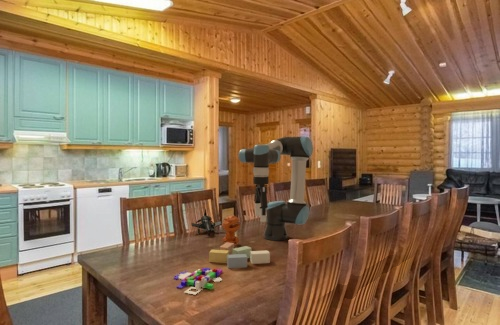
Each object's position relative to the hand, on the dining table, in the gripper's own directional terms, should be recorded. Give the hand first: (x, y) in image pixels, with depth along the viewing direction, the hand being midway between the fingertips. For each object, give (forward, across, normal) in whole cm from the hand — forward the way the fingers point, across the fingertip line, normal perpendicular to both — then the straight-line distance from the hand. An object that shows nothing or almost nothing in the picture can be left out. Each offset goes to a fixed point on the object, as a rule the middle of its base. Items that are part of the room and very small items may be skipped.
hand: (260, 218), depth 155 cm
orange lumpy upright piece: (+22, -29, -11) cm, 38 cm away
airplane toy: (+22, -58, -24) cm, 66 cm away
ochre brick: (+22, -4, -20) cm, 30 cm away
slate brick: (+22, +4, -12) cm, 25 cm away
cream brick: (+22, 0, 0) cm, 22 cm away
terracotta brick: (+22, -14, -15) cm, 30 cm away
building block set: (+22, +18, -31) cm, 42 cm away
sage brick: (+22, -7, -8) cm, 24 cm away
